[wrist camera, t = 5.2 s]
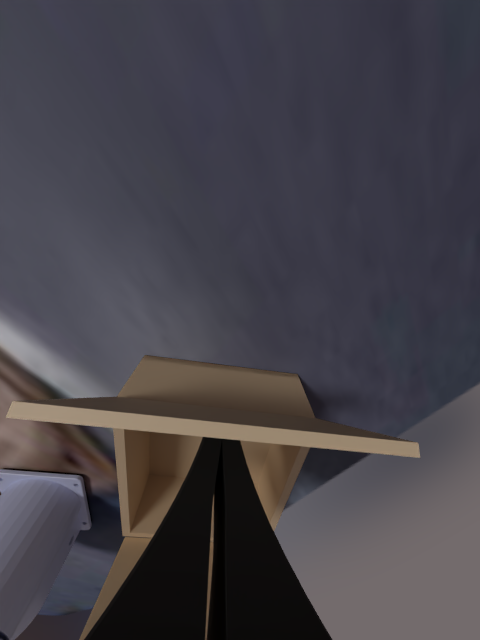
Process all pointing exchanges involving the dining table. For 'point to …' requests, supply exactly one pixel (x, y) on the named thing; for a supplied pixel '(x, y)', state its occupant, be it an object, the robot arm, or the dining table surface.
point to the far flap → (119, 573)
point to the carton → (180, 450)
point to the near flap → (210, 423)
